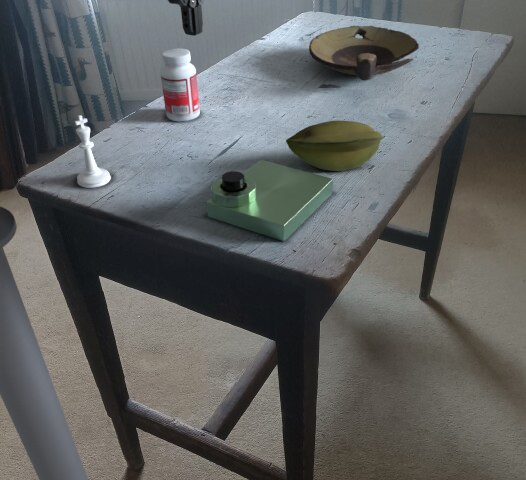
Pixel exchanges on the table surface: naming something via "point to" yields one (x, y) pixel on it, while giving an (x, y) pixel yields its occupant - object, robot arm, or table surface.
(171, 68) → the pill bottle
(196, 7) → the robot arm
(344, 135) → the fruit
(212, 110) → the table surface
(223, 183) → the button
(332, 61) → the broken bowl
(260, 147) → the table surface
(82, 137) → the chess piece
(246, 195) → the scale
